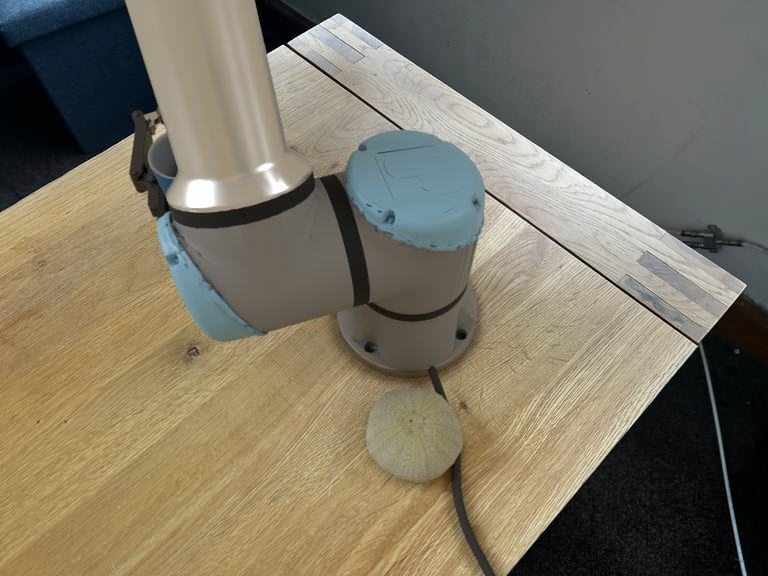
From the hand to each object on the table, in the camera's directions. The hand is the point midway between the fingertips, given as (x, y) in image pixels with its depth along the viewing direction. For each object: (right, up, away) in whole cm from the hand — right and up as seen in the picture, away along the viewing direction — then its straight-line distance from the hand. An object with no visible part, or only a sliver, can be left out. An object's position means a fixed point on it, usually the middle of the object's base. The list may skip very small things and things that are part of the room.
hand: (199, 233), depth 65 cm
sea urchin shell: (+21, -20, 0) cm, 29 cm away
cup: (-1, -1, +10) cm, 11 cm away
